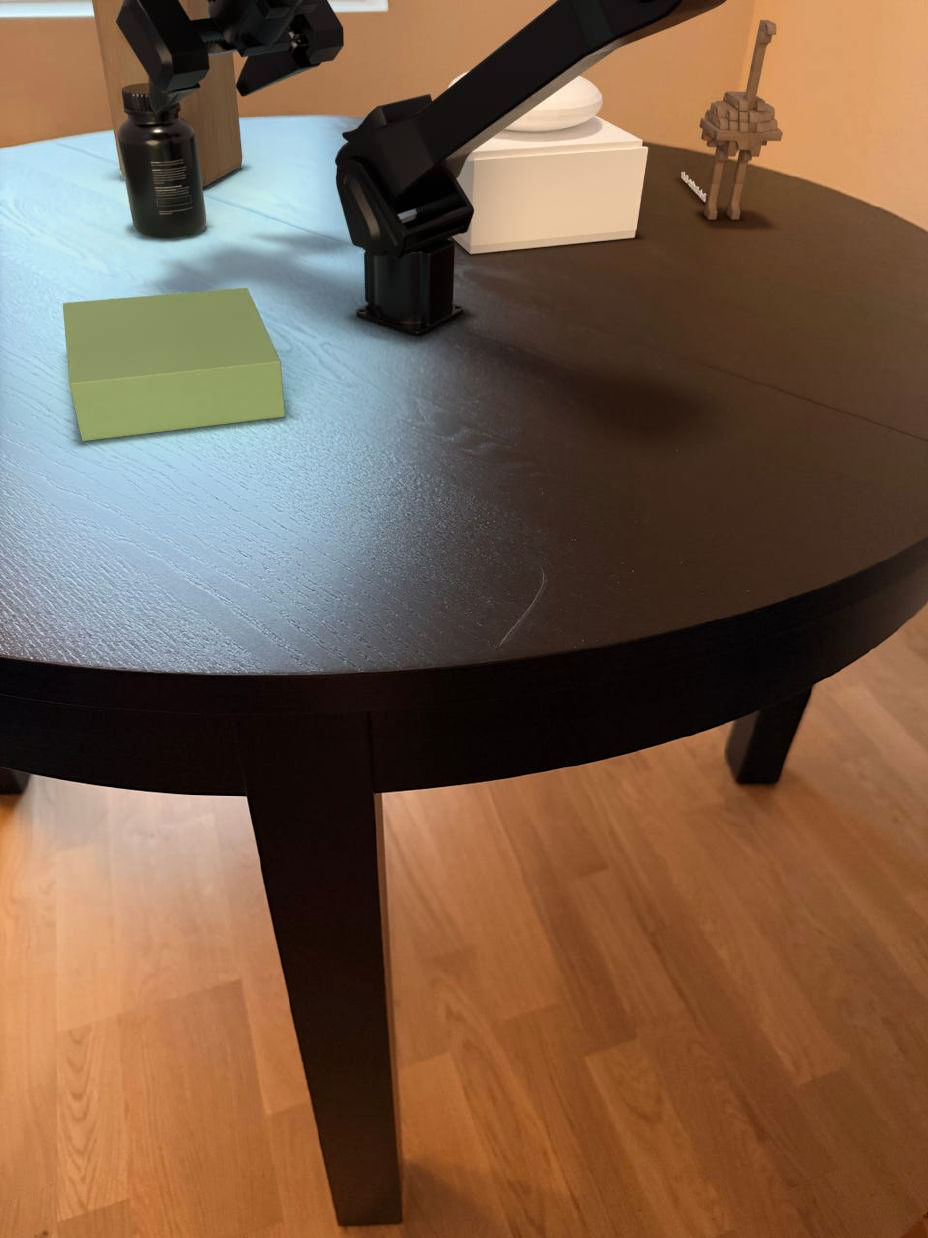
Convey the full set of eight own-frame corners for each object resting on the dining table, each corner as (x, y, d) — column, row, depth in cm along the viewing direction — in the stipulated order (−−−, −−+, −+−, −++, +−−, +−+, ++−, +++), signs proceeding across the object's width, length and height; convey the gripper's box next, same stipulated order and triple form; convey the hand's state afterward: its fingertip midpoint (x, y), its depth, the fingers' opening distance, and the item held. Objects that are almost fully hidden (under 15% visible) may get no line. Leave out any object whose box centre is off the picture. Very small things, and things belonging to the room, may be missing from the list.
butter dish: (635, 237, 98) (662, 53, 88) (465, 254, 92) (472, 60, 82) (557, 184, 110) (572, 18, 100) (403, 197, 105) (403, 22, 95)
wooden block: (117, 179, 105) (79, -47, 93) (166, 155, 113) (137, -57, 100) (203, 192, 103) (175, -38, 91) (247, 166, 111) (227, -49, 98)
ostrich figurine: (763, 228, 102) (809, 25, 90) (700, 228, 101) (738, 23, 89) (710, 178, 114) (745, -5, 103) (654, 178, 114) (682, -6, 102)
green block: (252, 338, 76) (247, 286, 74) (285, 417, 67) (280, 361, 64) (74, 355, 73) (62, 302, 70) (82, 441, 63) (69, 383, 61)
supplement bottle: (216, 218, 97) (200, 81, 89) (194, 242, 92) (176, 98, 84) (147, 213, 97) (125, 76, 90) (122, 237, 92) (96, 93, 85)
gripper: (312, -147, 77) (230, 1, 89) (107, -146, 65) (45, 23, 77) (388, -13, 78) (298, 114, 90) (201, 11, 66) (126, 153, 79)
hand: (198, 99), depth 84 cm, fingers open, 9 cm apart
